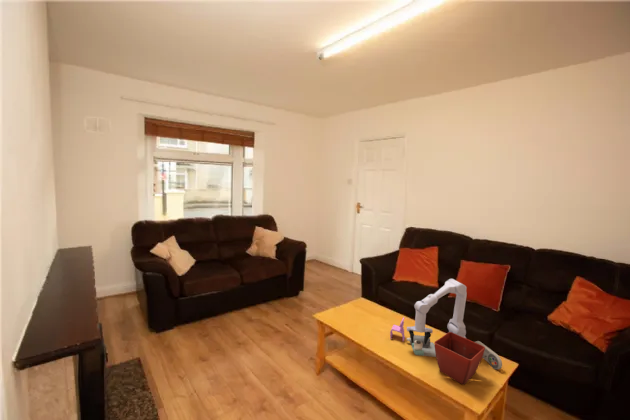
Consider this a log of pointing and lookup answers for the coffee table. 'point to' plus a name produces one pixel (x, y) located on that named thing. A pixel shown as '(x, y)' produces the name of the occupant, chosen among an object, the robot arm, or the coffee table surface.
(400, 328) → the toy chair
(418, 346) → the cream canister
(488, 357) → the game controller
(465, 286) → the robot arm
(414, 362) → the coffee table surface
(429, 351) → the motor assembly
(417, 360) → the coffee table surface
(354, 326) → the coffee table surface
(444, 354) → the plant pot
